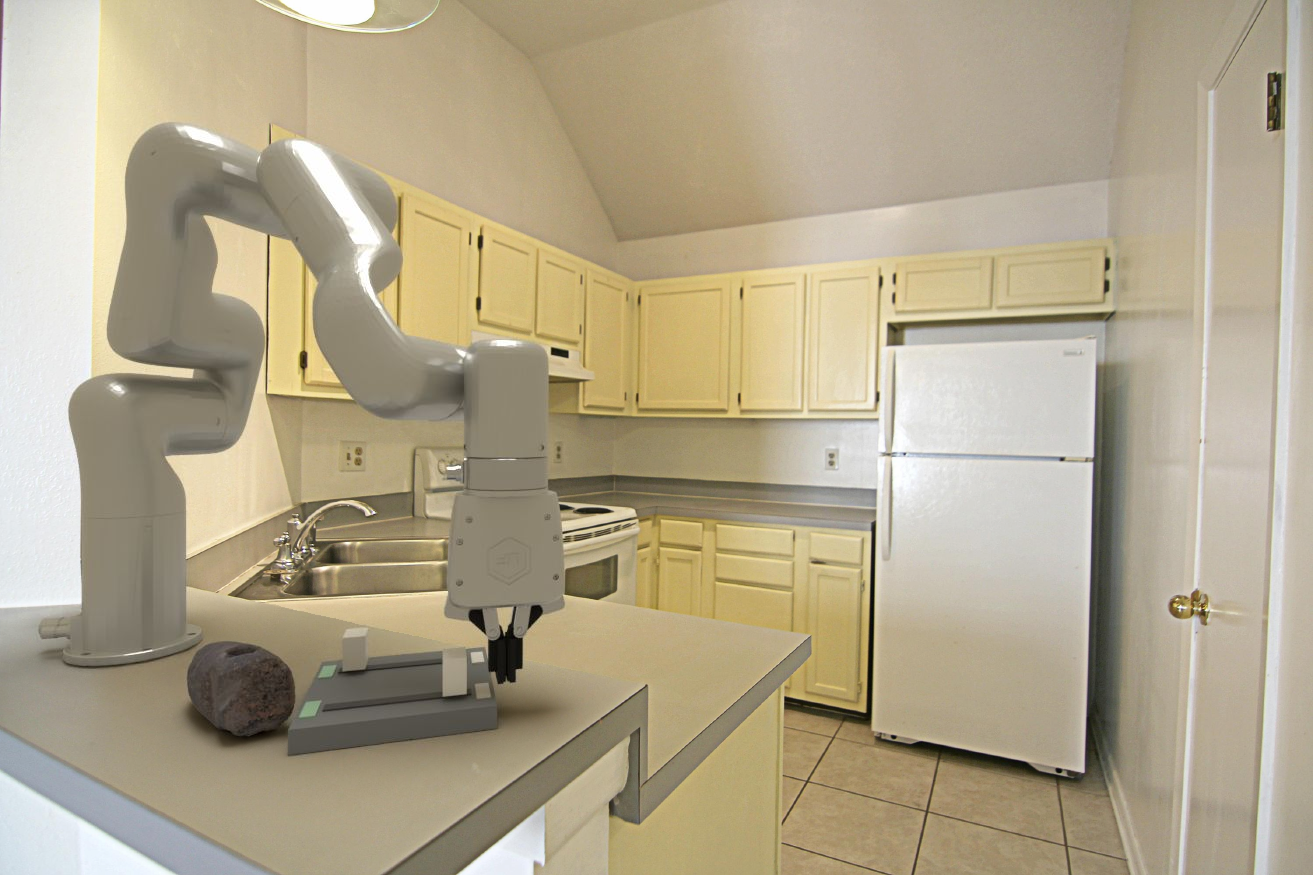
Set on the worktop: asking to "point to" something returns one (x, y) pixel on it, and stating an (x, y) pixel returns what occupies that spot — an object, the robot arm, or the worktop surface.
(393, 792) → the worktop surface
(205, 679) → the perforated stone tool
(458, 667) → the block
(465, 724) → the slider switch panel
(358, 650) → the block
